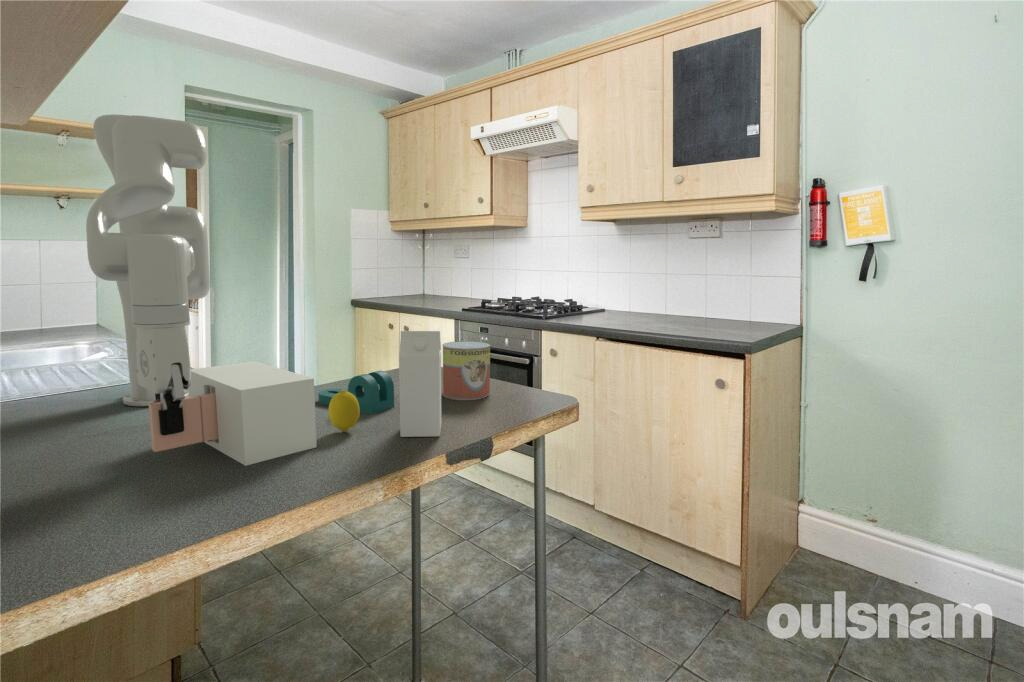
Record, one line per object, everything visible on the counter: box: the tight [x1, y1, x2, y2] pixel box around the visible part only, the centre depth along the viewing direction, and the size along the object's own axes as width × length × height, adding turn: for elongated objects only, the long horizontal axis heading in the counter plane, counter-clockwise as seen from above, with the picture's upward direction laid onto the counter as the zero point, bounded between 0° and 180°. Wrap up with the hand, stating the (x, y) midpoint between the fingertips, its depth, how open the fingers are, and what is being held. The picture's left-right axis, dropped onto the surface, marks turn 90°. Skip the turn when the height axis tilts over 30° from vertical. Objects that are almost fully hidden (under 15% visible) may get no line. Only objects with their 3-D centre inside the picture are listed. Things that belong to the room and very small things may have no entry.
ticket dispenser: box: [188, 360, 318, 467], centre depth 98 cm, size 13×22×12 cm, turn 48°
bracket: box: [318, 370, 395, 415], centre depth 124 cm, size 18×7×8 cm, turn 60°
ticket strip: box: [148, 393, 218, 453], centre depth 94 cm, size 18×1×8 cm, turn 138°
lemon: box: [328, 390, 361, 433], centre depth 105 cm, size 6×6×8 cm
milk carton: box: [398, 330, 442, 438], centre depth 105 cm, size 7×7×19 cm
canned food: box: [441, 340, 491, 401], centre depth 134 cm, size 11×11×12 cm
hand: (170, 431), depth 89 cm, fingers closed
